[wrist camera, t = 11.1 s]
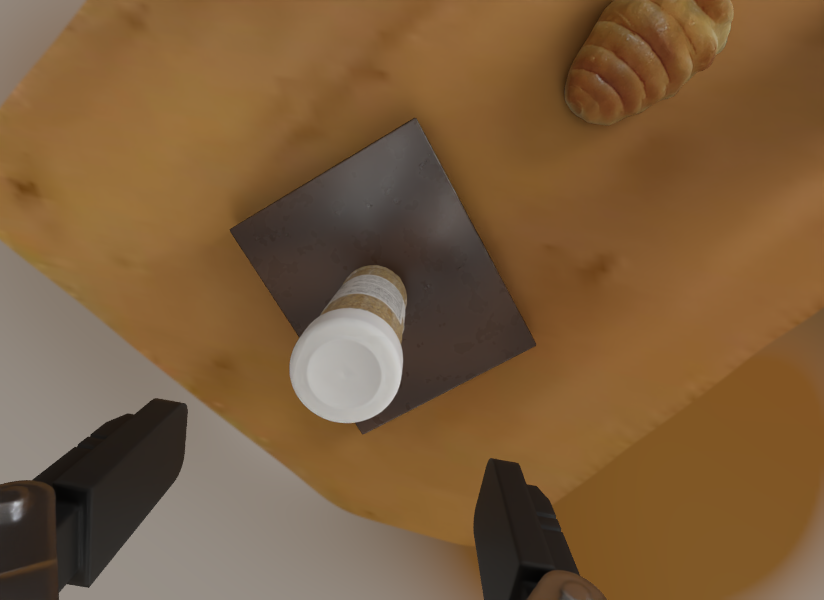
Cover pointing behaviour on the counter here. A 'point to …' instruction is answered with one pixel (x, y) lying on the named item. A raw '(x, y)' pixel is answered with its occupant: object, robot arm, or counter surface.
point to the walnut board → (392, 262)
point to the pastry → (644, 55)
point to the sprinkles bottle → (353, 349)
